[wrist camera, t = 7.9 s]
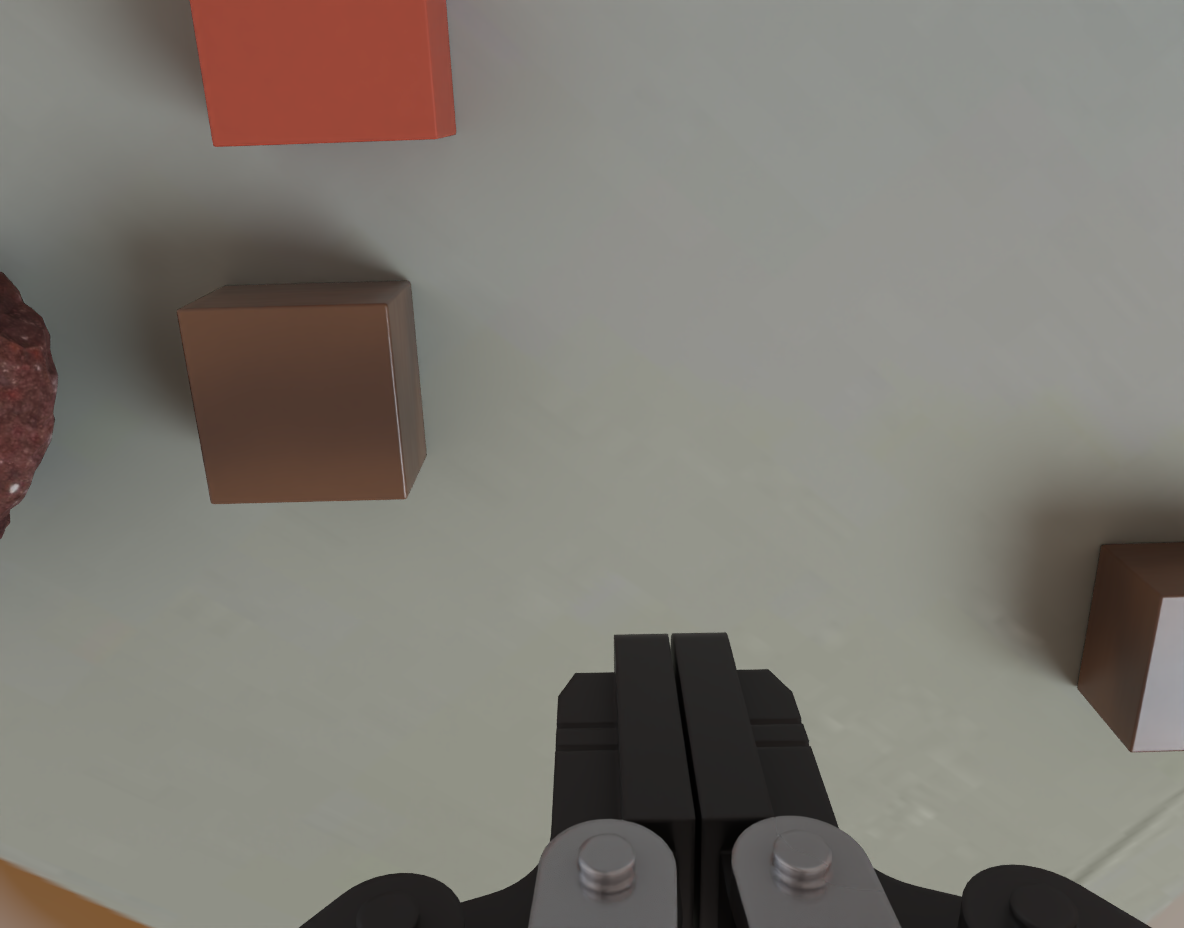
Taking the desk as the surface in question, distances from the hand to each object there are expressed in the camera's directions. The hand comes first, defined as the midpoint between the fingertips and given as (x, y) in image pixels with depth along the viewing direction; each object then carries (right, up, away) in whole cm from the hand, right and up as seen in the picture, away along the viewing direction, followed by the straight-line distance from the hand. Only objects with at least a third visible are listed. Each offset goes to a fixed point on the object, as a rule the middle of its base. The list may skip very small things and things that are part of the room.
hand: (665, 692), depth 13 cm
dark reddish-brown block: (+17, -2, +16) cm, 23 cm away
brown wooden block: (-8, +6, +13) cm, 17 cm away
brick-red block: (-7, +14, +10) cm, 19 cm away
